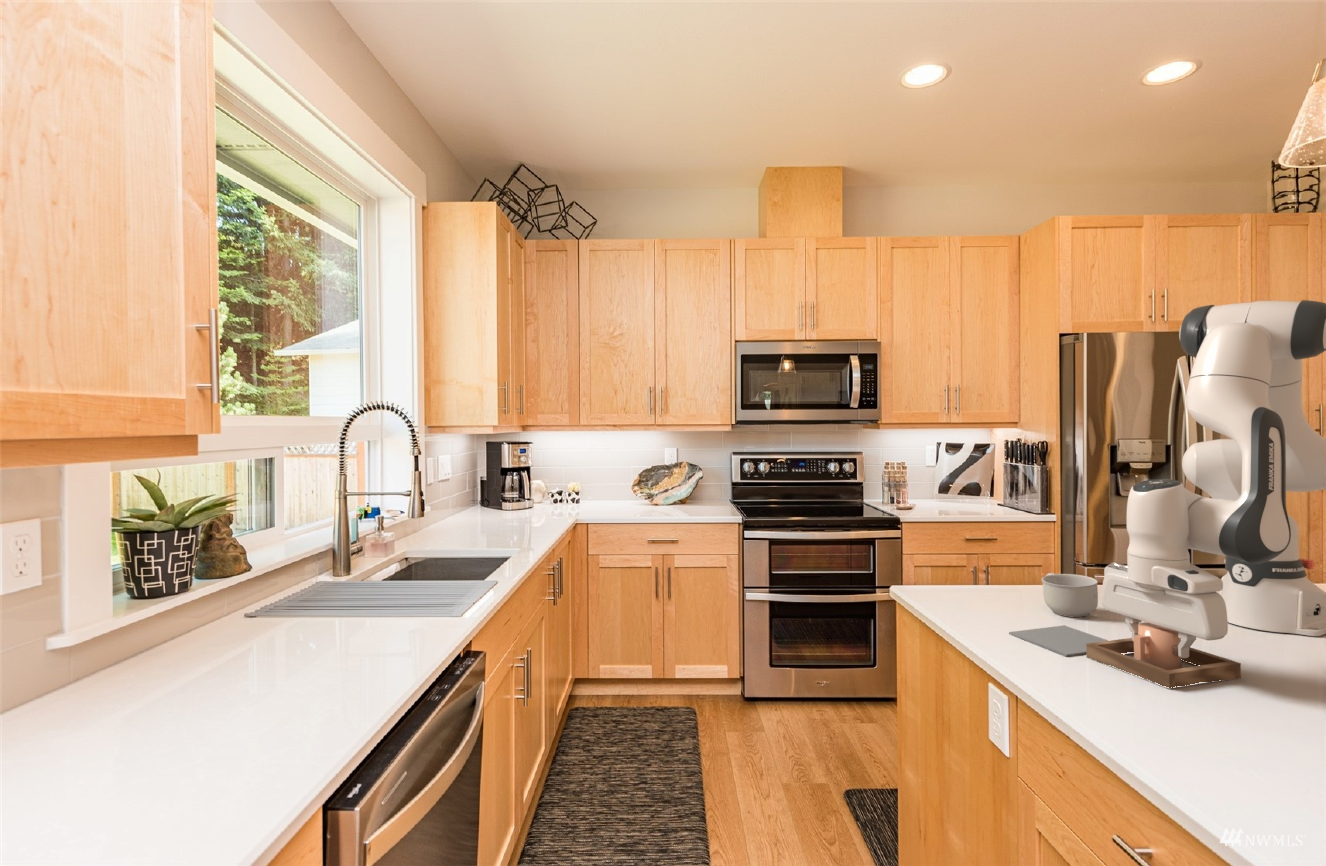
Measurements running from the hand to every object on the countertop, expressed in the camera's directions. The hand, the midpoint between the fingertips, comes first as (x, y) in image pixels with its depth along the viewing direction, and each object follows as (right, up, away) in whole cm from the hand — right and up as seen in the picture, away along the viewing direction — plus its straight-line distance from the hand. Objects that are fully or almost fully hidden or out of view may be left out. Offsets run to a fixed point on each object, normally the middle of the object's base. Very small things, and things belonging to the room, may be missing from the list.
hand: (1159, 649), depth 115 cm
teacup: (+5, -3, +34) cm, 35 cm away
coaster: (-8, -3, +15) cm, 17 cm away
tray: (0, -3, 0) cm, 3 cm away
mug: (-1, -3, 0) cm, 3 cm away
